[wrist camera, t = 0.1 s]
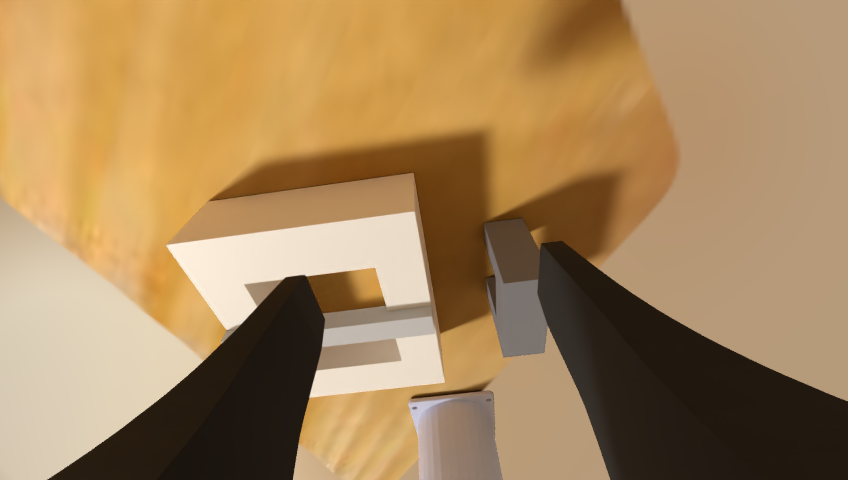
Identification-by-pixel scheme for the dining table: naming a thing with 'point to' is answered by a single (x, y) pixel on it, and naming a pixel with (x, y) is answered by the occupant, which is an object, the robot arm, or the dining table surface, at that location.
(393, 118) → the dining table surface
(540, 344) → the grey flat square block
